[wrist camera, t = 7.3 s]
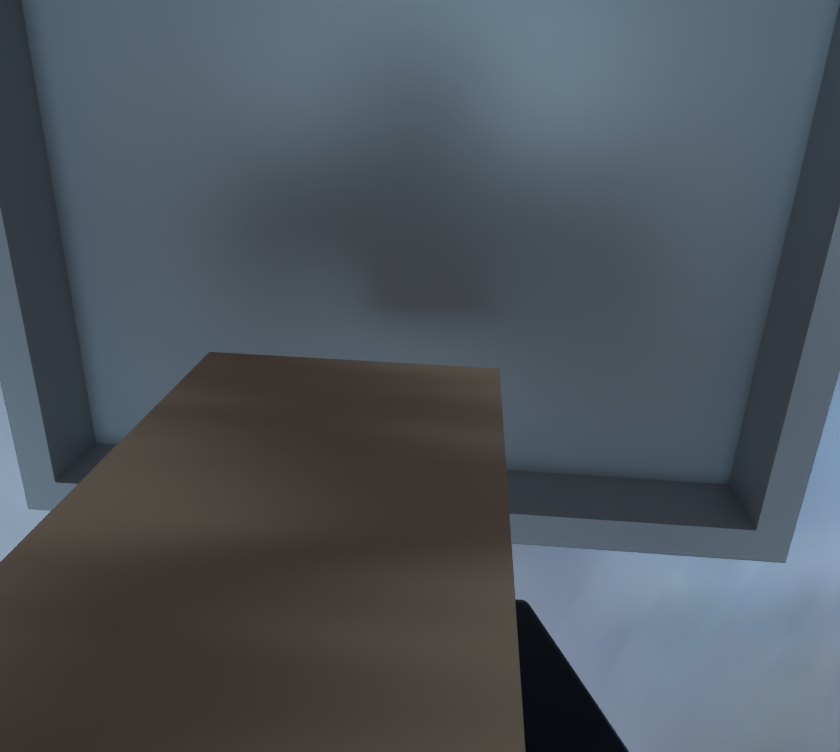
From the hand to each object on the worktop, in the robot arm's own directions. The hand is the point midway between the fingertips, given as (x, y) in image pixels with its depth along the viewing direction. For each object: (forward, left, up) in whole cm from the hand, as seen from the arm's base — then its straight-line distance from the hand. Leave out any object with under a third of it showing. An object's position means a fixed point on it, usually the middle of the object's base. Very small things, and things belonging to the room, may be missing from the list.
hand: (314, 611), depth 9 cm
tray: (0, -2, -13) cm, 13 cm away
